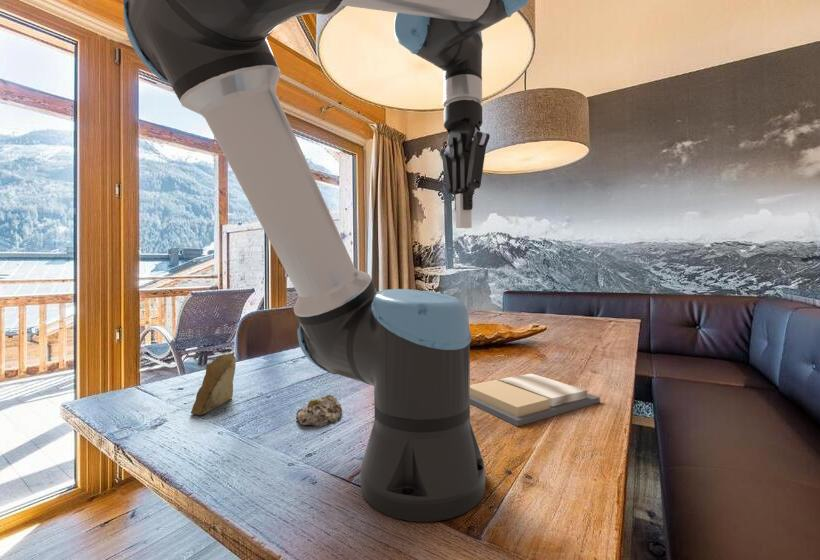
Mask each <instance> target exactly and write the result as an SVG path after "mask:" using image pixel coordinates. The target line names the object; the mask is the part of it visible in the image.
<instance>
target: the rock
mask: <svg viewBox="0 0 820 560" xmlns="http://www.w3.org/2000/svg"><path fill="white" fill-rule="evenodd" d="M236 360H237V358H236V357H235V356H234V355H233V354H232V353H226V354H224V353H223V354H221V355H219V356H218V357H217V358H215V359H213V360H212V362H210V363H209V364H207V365H206V366H205V374H204V377H203V380H202V385H201V386H200V387H199V388H198V391H197V393H196V397H195V402H194V404H192V408H191V411H190V414H192V415H198V416H203V415H204V414H207V413H208V412H210V411H212V410H214V409H215V408H218V407H220V406H222V405H223V404H226V402H227V401H230V400H231V399H232V398H233V395H234V377H235V372H236Z"/></svg>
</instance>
